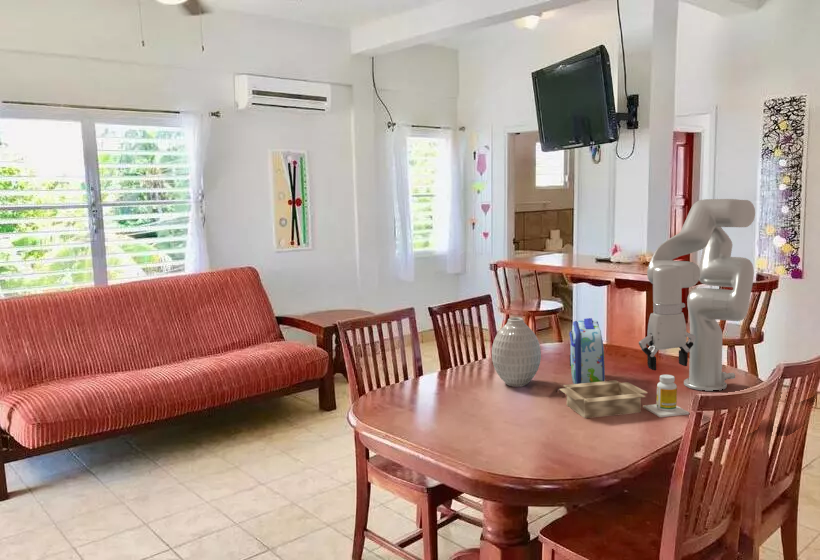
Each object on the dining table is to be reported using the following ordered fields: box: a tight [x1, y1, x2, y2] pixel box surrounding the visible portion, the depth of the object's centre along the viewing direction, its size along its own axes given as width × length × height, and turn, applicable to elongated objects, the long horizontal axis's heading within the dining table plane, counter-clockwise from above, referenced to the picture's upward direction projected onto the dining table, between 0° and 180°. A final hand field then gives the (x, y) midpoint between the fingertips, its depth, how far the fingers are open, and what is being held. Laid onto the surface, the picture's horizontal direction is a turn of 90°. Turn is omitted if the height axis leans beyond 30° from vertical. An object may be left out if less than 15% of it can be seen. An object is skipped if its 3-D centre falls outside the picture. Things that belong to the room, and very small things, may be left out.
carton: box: [559, 379, 648, 419], centre depth 197 cm, size 22×17×6 cm
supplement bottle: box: [656, 374, 678, 411], centre depth 193 cm, size 5×5×10 cm
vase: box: [491, 317, 542, 388], centre depth 224 cm, size 16×16×22 cm
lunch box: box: [569, 317, 606, 384], centre depth 222 cm, size 26×11×21 cm, turn 168°
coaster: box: [642, 403, 690, 418], centre depth 194 cm, size 9×9×1 cm
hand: (667, 367), depth 193 cm, fingers open, 9 cm apart
